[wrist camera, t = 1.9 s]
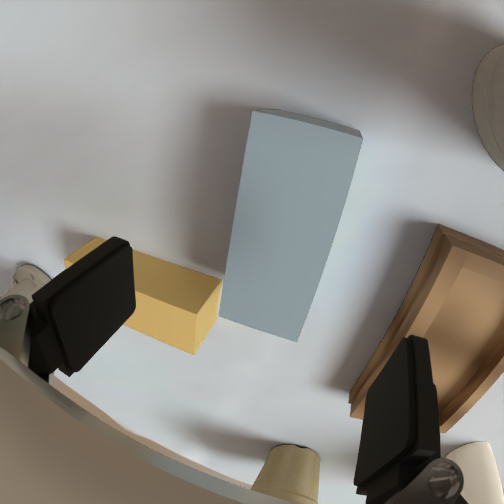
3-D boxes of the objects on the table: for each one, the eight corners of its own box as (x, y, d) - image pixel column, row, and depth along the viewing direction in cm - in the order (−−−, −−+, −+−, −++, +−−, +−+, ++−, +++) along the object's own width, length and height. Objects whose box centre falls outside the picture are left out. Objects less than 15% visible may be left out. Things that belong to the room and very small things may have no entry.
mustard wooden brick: (217, 318, 25) (194, 355, 22) (102, 273, 28) (71, 298, 24) (222, 278, 23) (196, 314, 20) (98, 235, 26) (63, 259, 22)
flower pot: (284, 427, 30) (262, 496, 23) (350, 456, 30) (338, 519, 22) (246, 450, 35) (223, 505, 28) (304, 475, 35) (289, 527, 27)
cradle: (444, 411, 23) (446, 434, 21) (349, 392, 25) (346, 416, 23) (545, 269, 15) (561, 289, 13) (438, 223, 17) (449, 242, 14)
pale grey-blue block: (308, 299, 22) (296, 342, 18) (241, 278, 23) (218, 316, 19) (359, 130, 16) (363, 138, 12) (274, 108, 17) (252, 110, 13)
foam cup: (475, 428, 23) (482, 533, 12) (513, 440, 22) (522, 527, 11) (418, 464, 28) (410, 555, 17) (460, 473, 27) (458, 552, 16)
